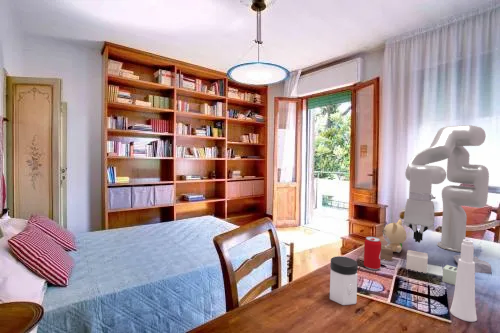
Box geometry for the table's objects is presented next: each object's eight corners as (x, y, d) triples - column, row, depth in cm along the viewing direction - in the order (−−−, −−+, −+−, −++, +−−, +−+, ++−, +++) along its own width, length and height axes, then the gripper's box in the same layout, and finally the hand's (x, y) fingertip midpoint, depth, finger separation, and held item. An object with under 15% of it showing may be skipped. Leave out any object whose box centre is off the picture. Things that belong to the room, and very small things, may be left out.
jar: (336, 306, 79) (338, 267, 78) (323, 292, 87) (324, 257, 86) (363, 303, 81) (364, 265, 80) (347, 290, 89) (349, 255, 88)
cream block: (407, 263, 113) (407, 249, 112) (426, 267, 109) (427, 253, 108) (406, 269, 107) (406, 254, 106) (426, 274, 103) (427, 259, 103)
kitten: (387, 244, 136) (389, 215, 135) (409, 249, 129) (411, 219, 128) (377, 251, 126) (378, 220, 125) (400, 257, 119) (402, 225, 118)
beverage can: (382, 267, 108) (383, 238, 107) (377, 272, 103) (378, 242, 102) (366, 263, 112) (367, 235, 111) (361, 267, 107) (362, 238, 107)
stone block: (466, 276, 106) (495, 274, 104) (464, 264, 106) (492, 262, 104) (450, 265, 117) (475, 263, 115) (448, 254, 117) (473, 252, 115)
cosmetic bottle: (445, 308, 79) (449, 236, 78) (465, 309, 79) (470, 237, 78) (460, 321, 73) (465, 243, 72) (482, 322, 73) (487, 244, 72)
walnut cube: (379, 255, 121) (379, 244, 121) (391, 257, 119) (391, 246, 119) (379, 259, 117) (380, 247, 116) (392, 261, 115) (392, 249, 114)
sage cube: (445, 277, 100) (446, 264, 100) (462, 282, 96) (463, 268, 96) (442, 281, 97) (443, 267, 97) (459, 286, 93) (460, 272, 93)
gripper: (443, 197, 105) (440, 243, 106) (400, 193, 114) (398, 235, 115) (442, 200, 99) (439, 248, 100) (397, 196, 108) (395, 239, 109)
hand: (417, 241), depth 108 cm, fingers closed
